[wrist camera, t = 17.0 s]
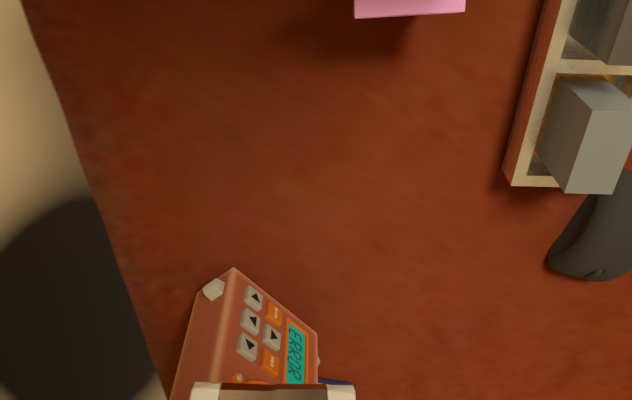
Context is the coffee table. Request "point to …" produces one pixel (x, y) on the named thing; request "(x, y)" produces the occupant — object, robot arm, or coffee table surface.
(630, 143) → the grey block
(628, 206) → the computer mouse
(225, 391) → the robot arm
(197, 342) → the control panel
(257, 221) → the coffee table surface
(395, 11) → the toy chair
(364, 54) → the coffee table surface
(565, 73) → the tray
